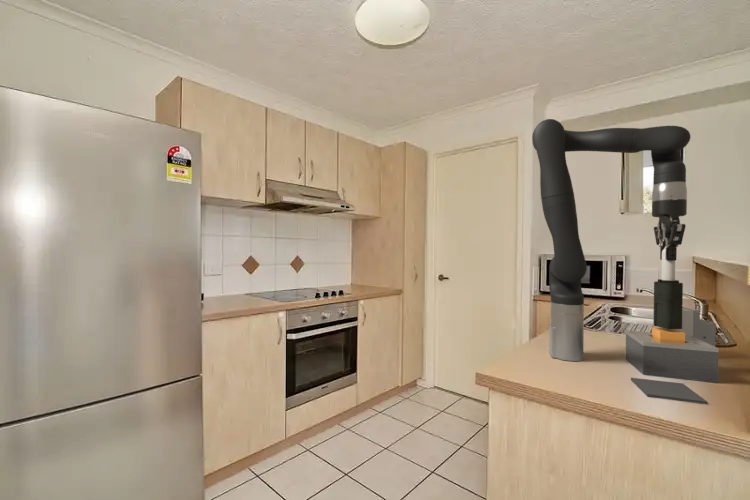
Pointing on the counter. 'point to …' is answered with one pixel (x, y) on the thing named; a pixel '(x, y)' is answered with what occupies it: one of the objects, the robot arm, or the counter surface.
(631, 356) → the box
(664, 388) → the mat
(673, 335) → the button
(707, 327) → the circuit breaker
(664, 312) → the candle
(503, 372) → the counter surface
